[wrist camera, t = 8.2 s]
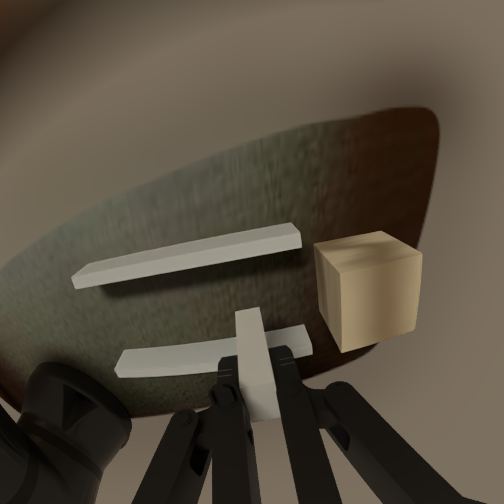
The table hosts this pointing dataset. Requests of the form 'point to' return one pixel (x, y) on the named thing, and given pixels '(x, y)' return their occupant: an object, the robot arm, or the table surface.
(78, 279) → the channel
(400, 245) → the maple block
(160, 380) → the table surface
